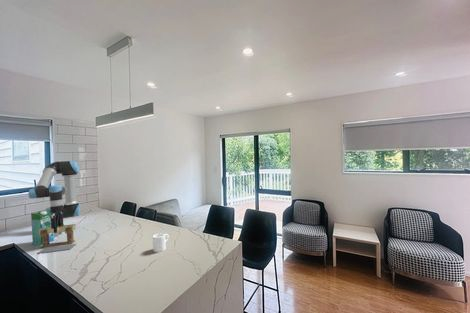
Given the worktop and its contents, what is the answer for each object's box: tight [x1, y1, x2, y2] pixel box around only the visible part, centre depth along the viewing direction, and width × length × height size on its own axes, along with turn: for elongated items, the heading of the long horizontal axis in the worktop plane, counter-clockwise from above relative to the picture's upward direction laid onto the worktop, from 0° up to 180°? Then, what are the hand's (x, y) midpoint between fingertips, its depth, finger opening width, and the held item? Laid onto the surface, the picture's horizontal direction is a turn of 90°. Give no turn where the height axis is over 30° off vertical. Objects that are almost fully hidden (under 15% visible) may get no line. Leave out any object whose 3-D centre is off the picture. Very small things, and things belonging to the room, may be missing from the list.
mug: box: [152, 232, 170, 253], centre depth 148 cm, size 8×12×10 cm
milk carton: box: [30, 209, 55, 246], centre depth 170 cm, size 9×9×25 cm
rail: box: [39, 223, 76, 235], centre depth 164 cm, size 22×4×4 cm, turn 105°
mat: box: [36, 243, 77, 255], centre depth 155 cm, size 9×20×1 cm, turn 105°
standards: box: [40, 227, 76, 249], centre depth 164 cm, size 7×20×13 cm, turn 105°
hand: (58, 235), depth 164 cm, fingers open, 4 cm apart
